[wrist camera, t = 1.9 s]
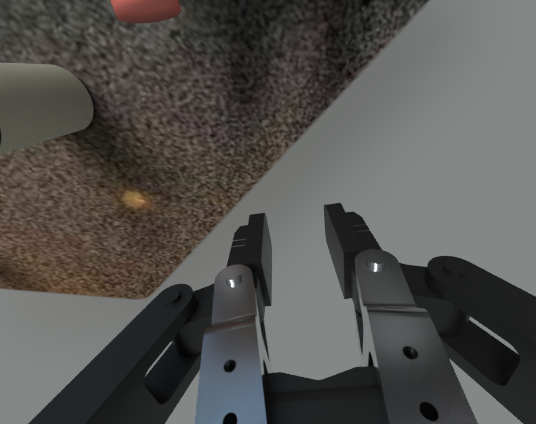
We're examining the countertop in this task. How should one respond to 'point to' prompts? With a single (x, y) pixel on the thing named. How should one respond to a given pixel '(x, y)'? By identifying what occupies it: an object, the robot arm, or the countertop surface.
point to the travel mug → (40, 104)
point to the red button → (145, 10)
